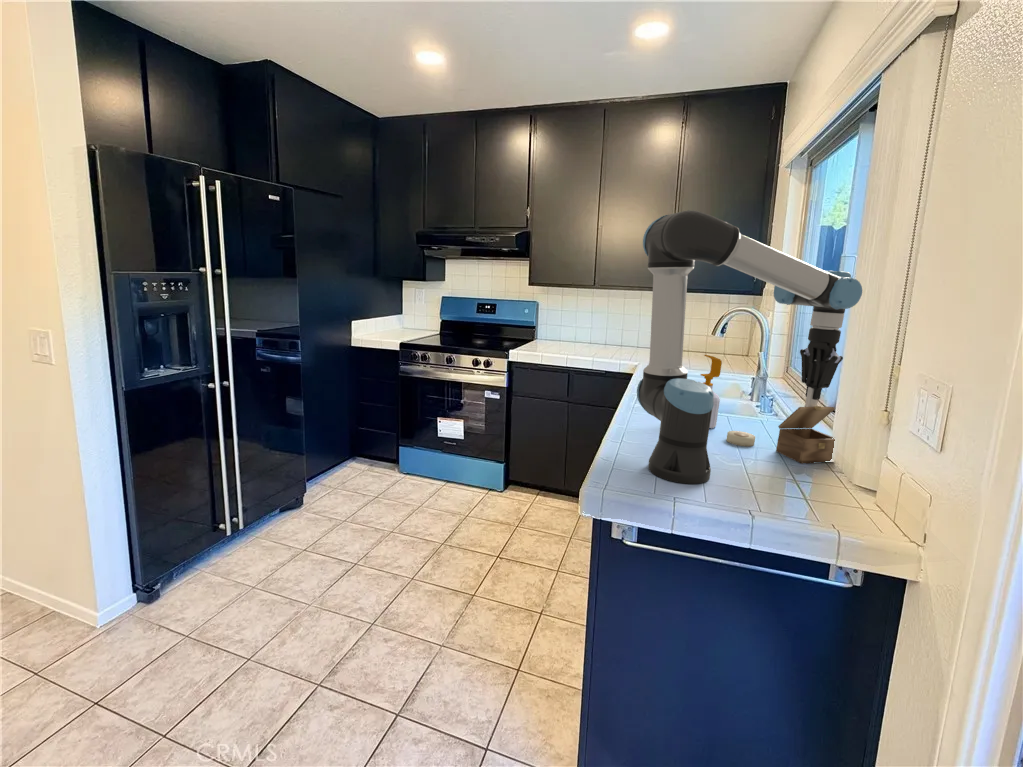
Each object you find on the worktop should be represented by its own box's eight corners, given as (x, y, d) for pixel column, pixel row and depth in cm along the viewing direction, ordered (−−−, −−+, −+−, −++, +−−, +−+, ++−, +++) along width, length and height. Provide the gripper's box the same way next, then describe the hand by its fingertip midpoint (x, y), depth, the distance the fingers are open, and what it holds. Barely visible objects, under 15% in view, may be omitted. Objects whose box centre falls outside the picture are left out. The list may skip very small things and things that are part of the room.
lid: (802, 409, 139) (800, 406, 140) (779, 429, 147) (778, 426, 148) (836, 409, 142) (834, 406, 142) (812, 429, 150) (810, 425, 151)
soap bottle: (682, 422, 175) (691, 353, 170) (702, 420, 179) (712, 352, 174) (701, 429, 167) (711, 357, 162) (721, 428, 171) (732, 357, 165)
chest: (801, 463, 140) (806, 440, 138) (775, 451, 149) (779, 428, 148) (834, 462, 142) (839, 439, 140) (807, 450, 152) (811, 428, 150)
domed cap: (737, 446, 152) (738, 438, 151) (721, 438, 159) (722, 430, 159) (759, 446, 153) (761, 438, 153) (743, 438, 161) (744, 430, 160)
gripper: (856, 331, 133) (839, 415, 138) (818, 325, 146) (804, 403, 151) (833, 330, 132) (816, 416, 137) (796, 324, 144) (782, 403, 149)
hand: (810, 409), depth 144 cm, fingers closed
